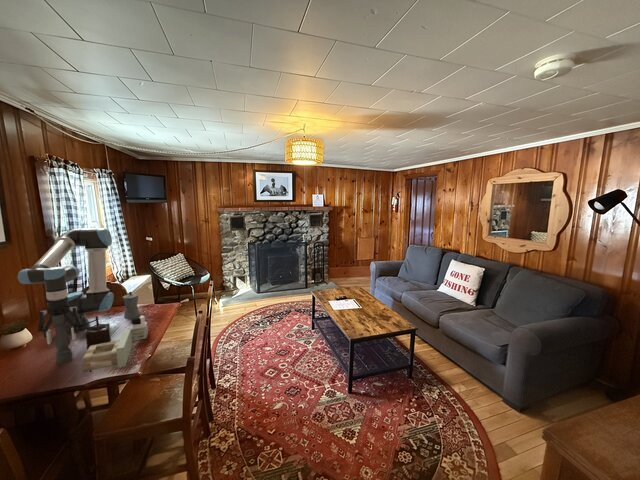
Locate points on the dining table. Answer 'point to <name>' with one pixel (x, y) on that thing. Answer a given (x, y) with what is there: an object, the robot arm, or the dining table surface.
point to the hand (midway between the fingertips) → (62, 341)
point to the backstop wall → (124, 348)
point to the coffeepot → (131, 305)
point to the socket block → (100, 355)
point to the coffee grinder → (97, 333)
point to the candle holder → (61, 339)
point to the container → (139, 328)
